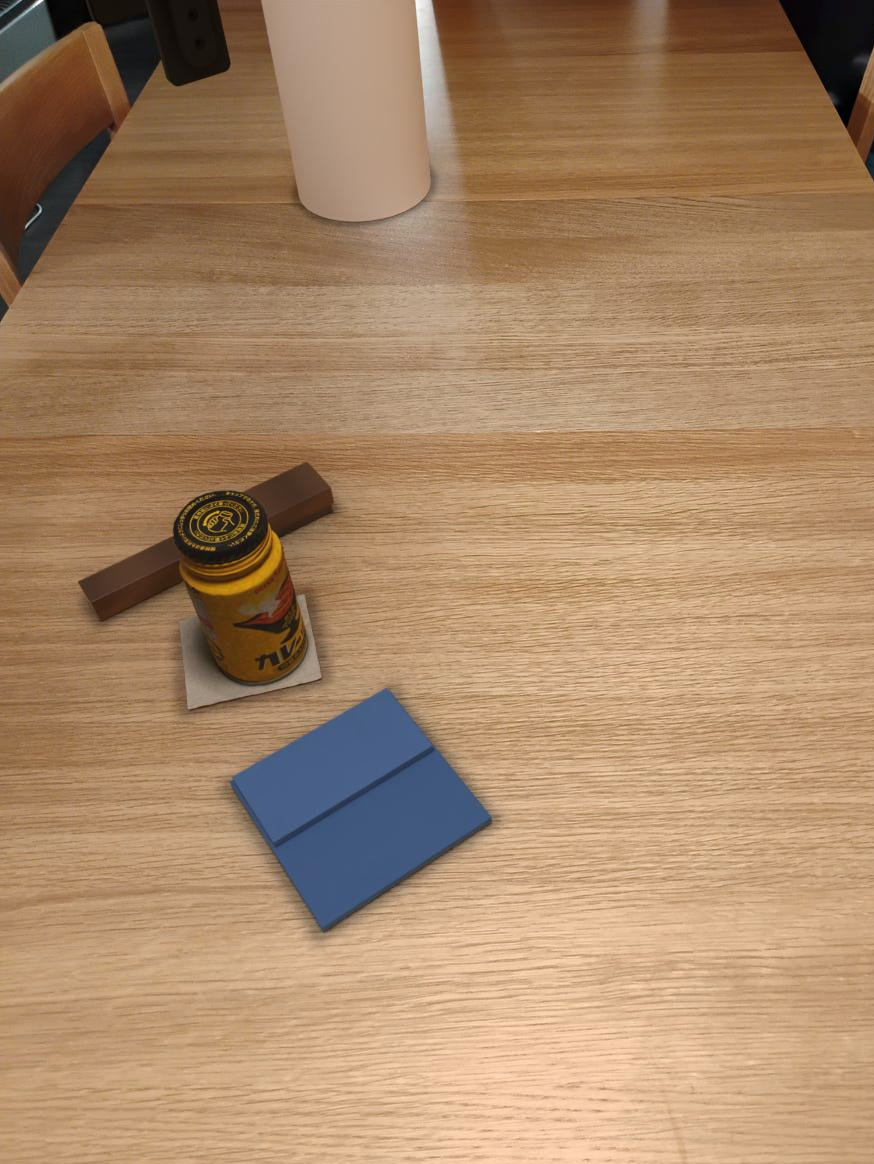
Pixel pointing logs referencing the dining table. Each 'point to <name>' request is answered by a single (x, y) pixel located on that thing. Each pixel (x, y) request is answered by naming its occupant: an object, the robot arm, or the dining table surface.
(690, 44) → the dining table surface
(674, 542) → the dining table surface
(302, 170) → the canister
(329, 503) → the brown bar
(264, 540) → the condiment
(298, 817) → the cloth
